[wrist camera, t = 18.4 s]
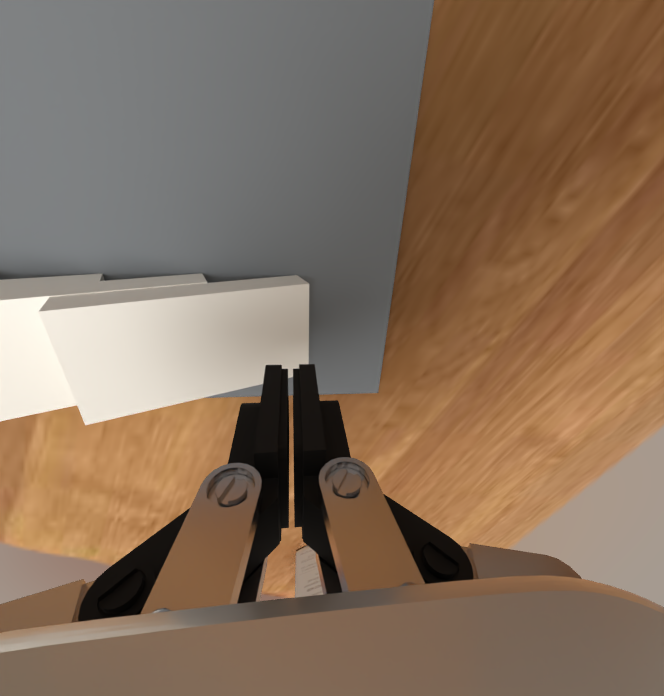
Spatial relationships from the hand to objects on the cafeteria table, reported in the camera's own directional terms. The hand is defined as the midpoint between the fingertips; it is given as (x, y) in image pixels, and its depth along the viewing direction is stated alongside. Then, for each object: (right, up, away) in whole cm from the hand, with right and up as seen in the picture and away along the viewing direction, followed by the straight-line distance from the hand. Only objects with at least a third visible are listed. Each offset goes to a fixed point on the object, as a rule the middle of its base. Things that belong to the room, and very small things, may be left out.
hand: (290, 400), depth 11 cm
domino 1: (0, +3, +6) cm, 6 cm away
